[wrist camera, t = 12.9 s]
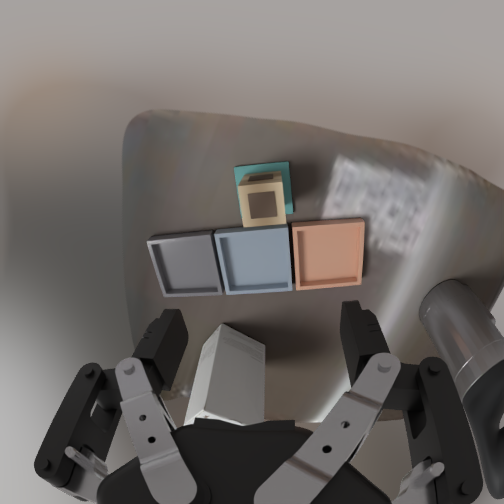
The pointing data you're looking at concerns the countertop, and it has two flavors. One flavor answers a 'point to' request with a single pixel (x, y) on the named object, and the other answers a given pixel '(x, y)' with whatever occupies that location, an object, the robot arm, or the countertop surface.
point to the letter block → (262, 199)
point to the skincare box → (229, 379)
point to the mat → (269, 168)
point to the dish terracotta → (328, 253)
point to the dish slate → (255, 259)
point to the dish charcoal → (187, 264)
